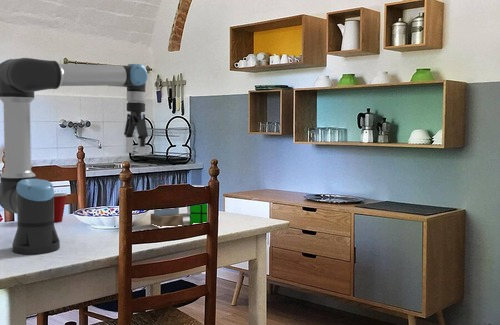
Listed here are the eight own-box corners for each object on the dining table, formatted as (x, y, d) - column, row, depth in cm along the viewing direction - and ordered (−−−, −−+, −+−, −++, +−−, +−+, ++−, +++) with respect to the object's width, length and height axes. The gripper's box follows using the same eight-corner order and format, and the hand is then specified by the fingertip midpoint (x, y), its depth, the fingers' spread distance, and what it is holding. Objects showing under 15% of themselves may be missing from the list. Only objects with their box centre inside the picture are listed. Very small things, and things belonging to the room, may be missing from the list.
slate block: (158, 216, 228) (158, 206, 228) (153, 214, 232) (154, 204, 232) (178, 214, 233) (178, 205, 233) (173, 212, 237) (173, 203, 237)
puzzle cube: (216, 220, 245) (217, 198, 244) (212, 225, 235) (213, 202, 234) (194, 220, 246) (194, 197, 245) (189, 224, 236) (189, 201, 235)
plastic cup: (57, 218, 245) (56, 191, 244) (73, 221, 238) (72, 193, 237) (35, 221, 236) (35, 193, 235) (51, 225, 230) (50, 196, 228)
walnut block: (160, 229, 226) (160, 217, 226) (150, 225, 234) (150, 213, 234) (182, 227, 232) (182, 215, 231) (172, 223, 240) (172, 211, 240)
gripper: (156, 102, 221) (155, 155, 223) (133, 102, 242) (133, 151, 244) (138, 101, 217) (137, 155, 219) (116, 102, 238) (116, 151, 240)
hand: (135, 153), depth 231 cm, fingers open, 13 cm apart
